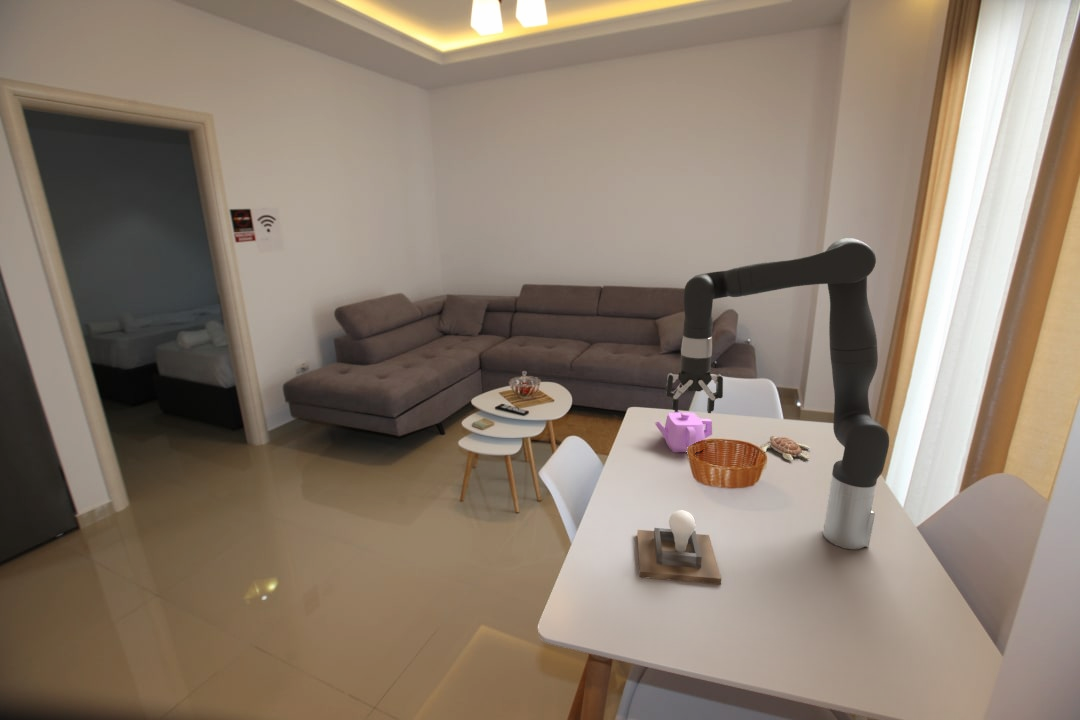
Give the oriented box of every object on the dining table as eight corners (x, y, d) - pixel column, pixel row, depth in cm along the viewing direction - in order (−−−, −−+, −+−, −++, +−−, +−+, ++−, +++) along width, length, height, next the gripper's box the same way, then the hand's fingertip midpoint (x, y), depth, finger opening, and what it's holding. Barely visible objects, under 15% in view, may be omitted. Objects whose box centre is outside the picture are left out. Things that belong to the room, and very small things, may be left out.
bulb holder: (708, 540, 124) (709, 524, 123) (721, 584, 109) (722, 567, 108) (637, 534, 127) (637, 519, 126) (639, 577, 112) (640, 560, 110)
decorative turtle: (793, 440, 180) (794, 427, 178) (824, 460, 164) (826, 447, 163) (747, 444, 178) (748, 431, 176) (774, 465, 162) (776, 451, 160)
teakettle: (693, 459, 166) (695, 426, 163) (650, 445, 178) (652, 414, 174) (715, 443, 178) (718, 412, 174) (674, 431, 189) (676, 401, 186)
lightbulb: (694, 561, 114) (697, 521, 111) (668, 558, 115) (670, 518, 112) (692, 545, 120) (694, 506, 117) (666, 542, 121) (668, 504, 118)
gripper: (669, 356, 122) (666, 416, 126) (728, 357, 120) (723, 418, 124) (666, 349, 129) (663, 405, 134) (722, 349, 127) (717, 407, 131)
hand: (692, 411), depth 129 cm, fingers open, 8 cm apart
